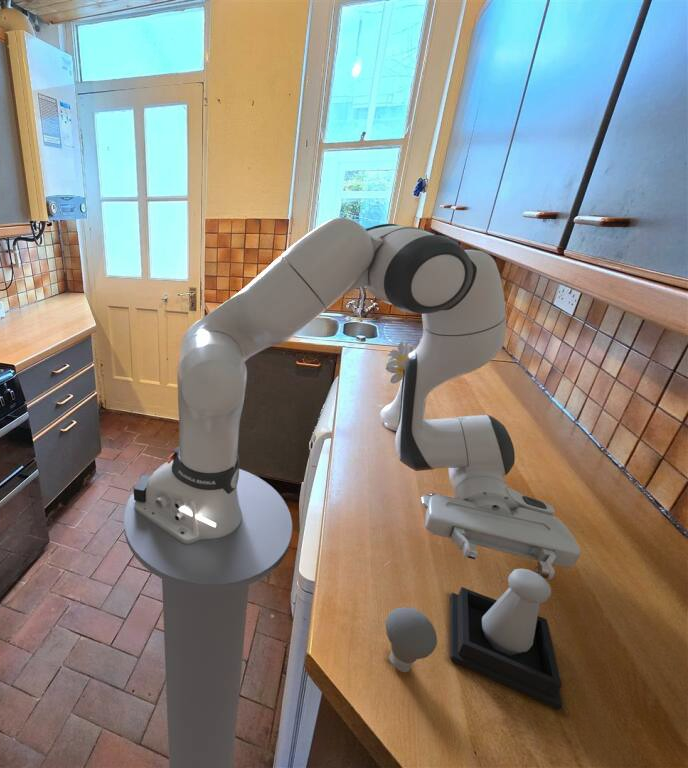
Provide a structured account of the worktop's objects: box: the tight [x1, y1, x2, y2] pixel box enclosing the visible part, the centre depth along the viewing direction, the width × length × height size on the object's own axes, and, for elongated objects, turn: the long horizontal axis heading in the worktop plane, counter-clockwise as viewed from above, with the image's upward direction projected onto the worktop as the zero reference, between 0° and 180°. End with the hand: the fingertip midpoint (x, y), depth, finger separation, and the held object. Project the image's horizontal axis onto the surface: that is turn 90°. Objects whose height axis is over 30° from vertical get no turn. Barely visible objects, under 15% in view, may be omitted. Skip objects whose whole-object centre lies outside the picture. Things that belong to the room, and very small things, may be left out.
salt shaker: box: [482, 568, 552, 656], centre depth 56 cm, size 6×6×13 cm
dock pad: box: [449, 586, 563, 711], centre depth 59 cm, size 12×12×4 cm
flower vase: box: [380, 338, 422, 432], centre depth 110 cm, size 13×18×25 cm
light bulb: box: [385, 606, 438, 673], centre depth 55 cm, size 6×6×10 cm
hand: (507, 565), depth 61 cm, fingers open, 8 cm apart
